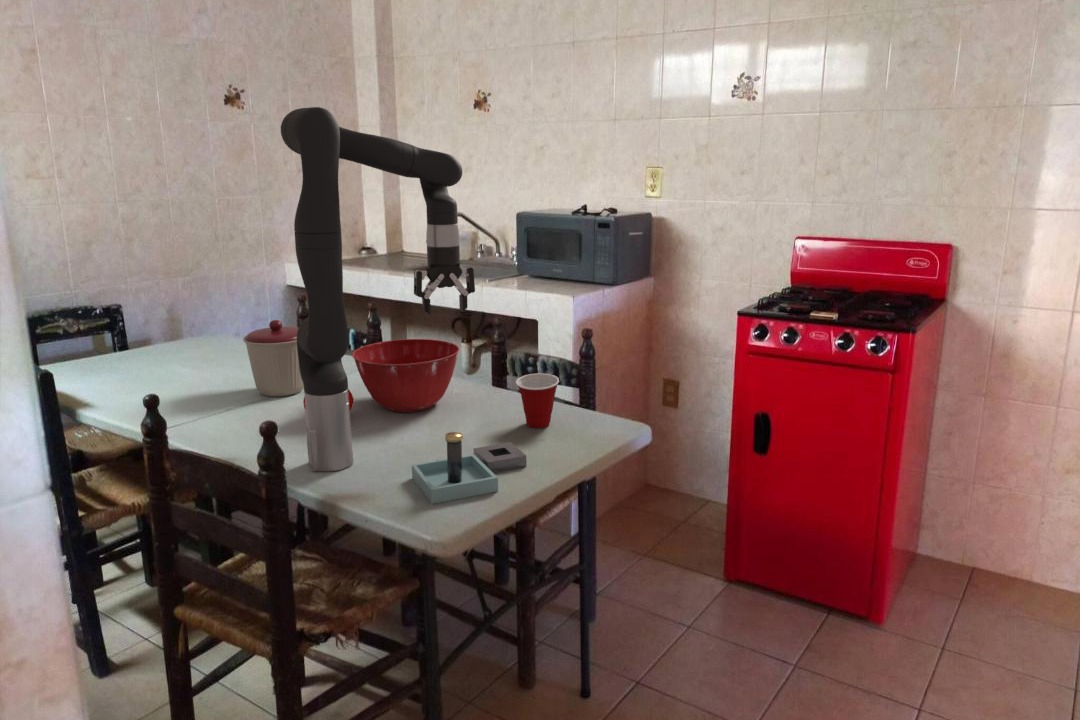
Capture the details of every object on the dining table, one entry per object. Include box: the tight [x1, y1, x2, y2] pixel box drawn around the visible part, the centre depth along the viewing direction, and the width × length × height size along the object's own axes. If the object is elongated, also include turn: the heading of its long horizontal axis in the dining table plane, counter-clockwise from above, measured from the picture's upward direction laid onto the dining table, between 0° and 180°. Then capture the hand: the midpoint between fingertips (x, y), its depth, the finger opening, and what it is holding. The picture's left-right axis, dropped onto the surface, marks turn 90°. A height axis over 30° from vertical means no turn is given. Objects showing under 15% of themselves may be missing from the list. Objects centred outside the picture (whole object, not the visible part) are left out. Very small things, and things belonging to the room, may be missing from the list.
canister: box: [242, 319, 304, 397], centre depth 224 cm, size 18×18×21 cm
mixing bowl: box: [351, 338, 460, 413], centre depth 213 cm, size 28×28×15 cm
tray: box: [411, 453, 499, 505], centre depth 163 cm, size 14×14×3 cm
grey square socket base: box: [473, 441, 527, 473], centre depth 175 cm, size 9×9×2 cm
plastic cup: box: [515, 373, 560, 429], centre depth 197 cm, size 11×11×12 cm
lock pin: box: [444, 431, 464, 483], centre depth 162 cm, size 4×4×10 cm
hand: (445, 312), depth 186 cm, fingers open, 8 cm apart
